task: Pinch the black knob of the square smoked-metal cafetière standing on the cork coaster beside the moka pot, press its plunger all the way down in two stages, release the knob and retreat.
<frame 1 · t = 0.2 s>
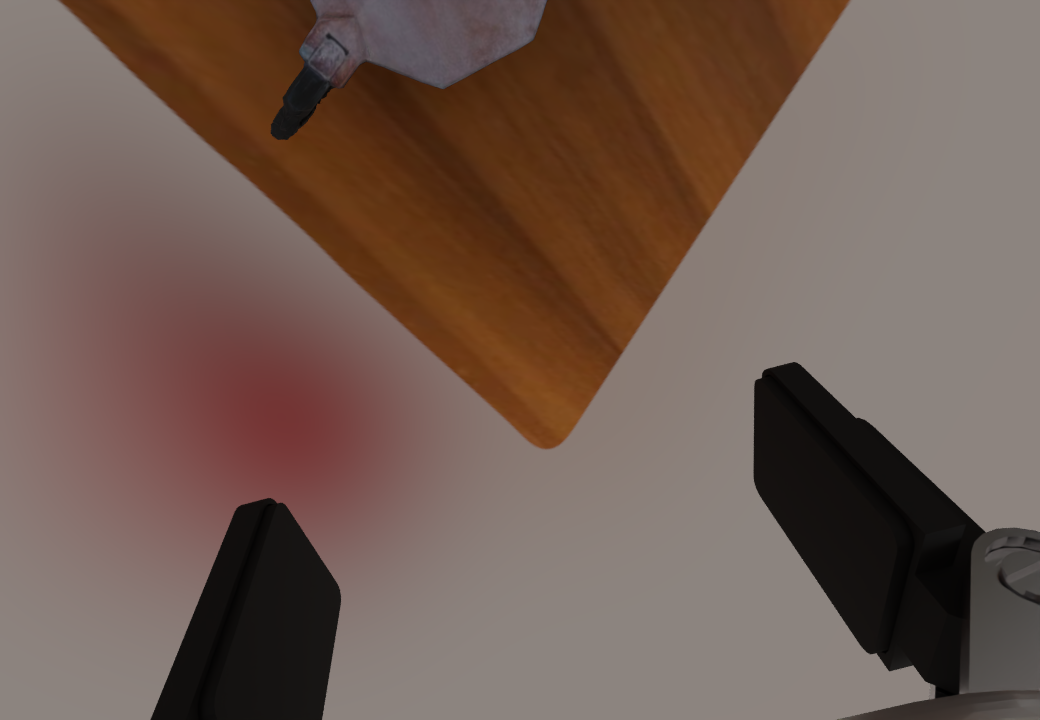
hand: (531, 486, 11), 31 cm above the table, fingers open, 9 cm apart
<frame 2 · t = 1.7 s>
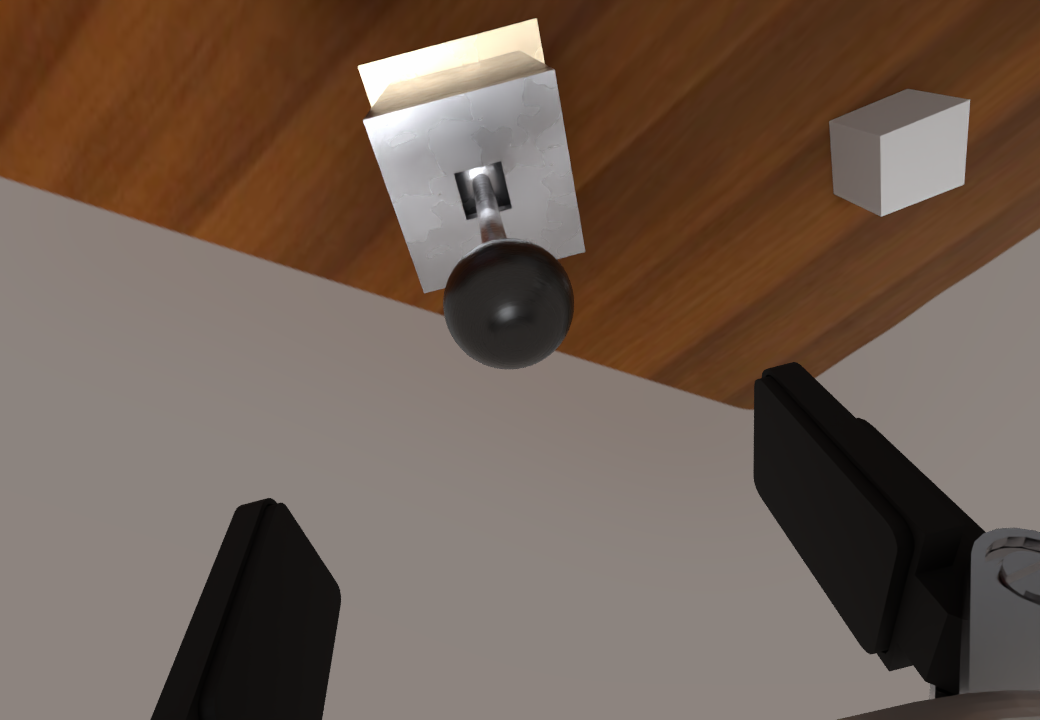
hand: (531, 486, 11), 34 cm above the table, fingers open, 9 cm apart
plunger: (493, 234, 23), point 21 cm above the table, slide at 0.0 cm
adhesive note: (866, 142, 44), on the table
cafetiere: (470, 135, 40), on the table
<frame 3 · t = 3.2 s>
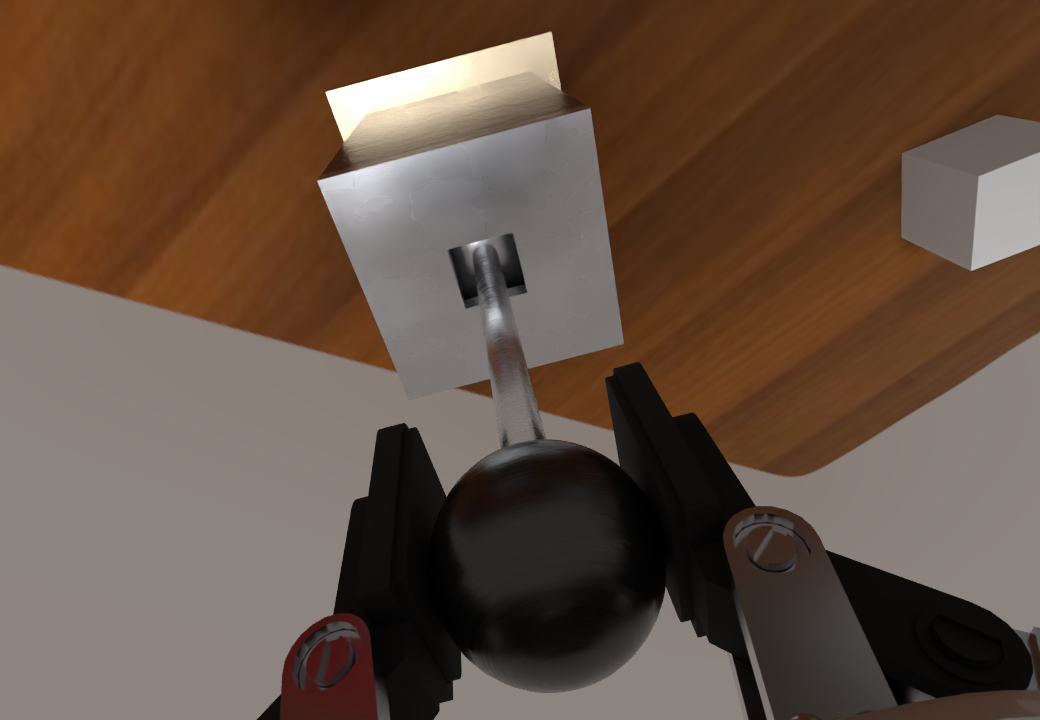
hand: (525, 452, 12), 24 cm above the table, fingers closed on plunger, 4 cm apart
plunger: (506, 362, 15), point 21 cm above the table, slide at 0.0 cm, touching gripper
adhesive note: (943, 178, 37), on the table
cafetiere: (468, 175, 32), on the table
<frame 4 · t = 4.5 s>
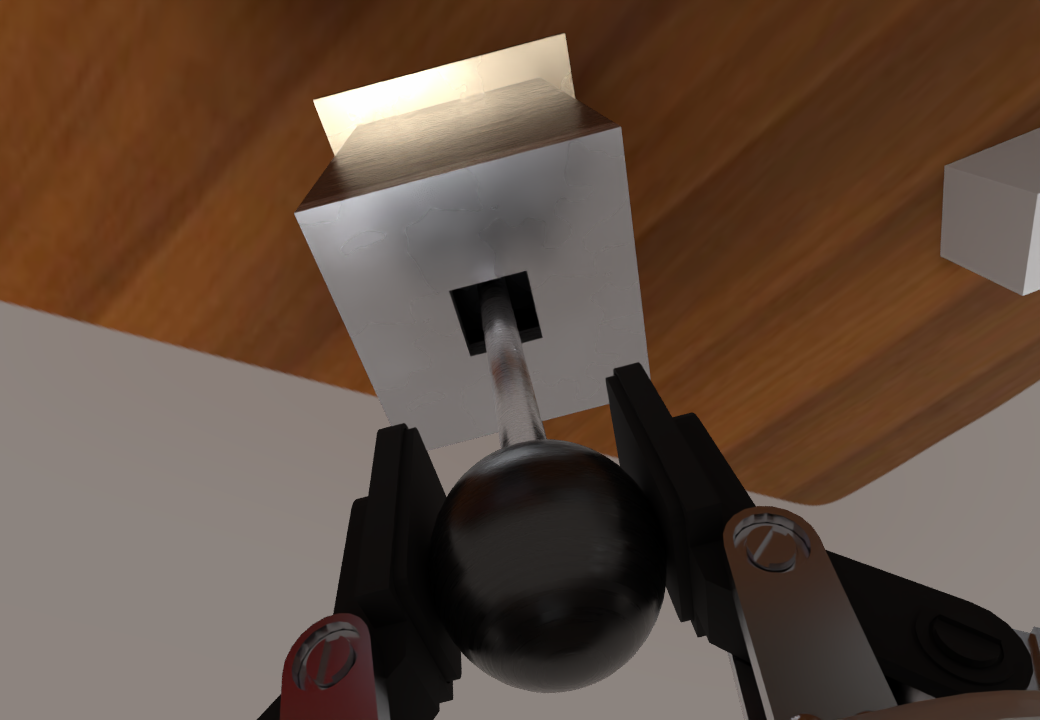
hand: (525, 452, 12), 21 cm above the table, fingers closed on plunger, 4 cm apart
plunger: (507, 362, 15), point 17 cm above the table, slide at 3.5 cm, touching gripper
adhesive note: (988, 192, 34), on the table
cafetiere: (472, 190, 29), on the table
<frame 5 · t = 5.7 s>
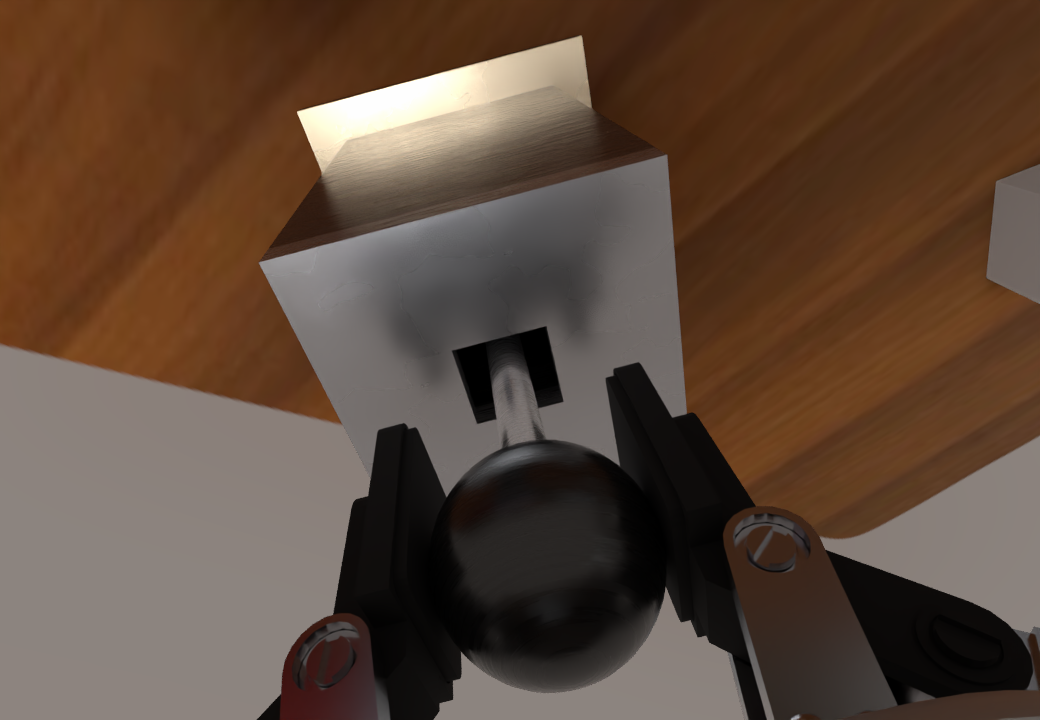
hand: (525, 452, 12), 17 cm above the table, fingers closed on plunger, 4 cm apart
plunger: (507, 362, 15), point 14 cm above the table, slide at 7.0 cm, touching gripper
cafetiere: (476, 210, 26), on the table
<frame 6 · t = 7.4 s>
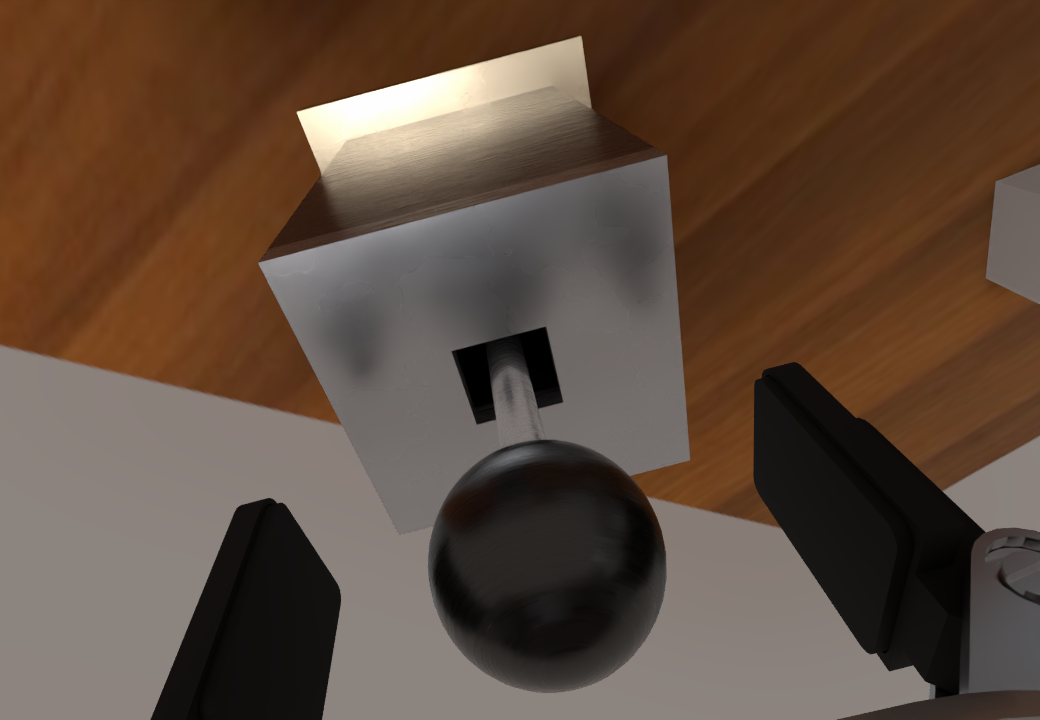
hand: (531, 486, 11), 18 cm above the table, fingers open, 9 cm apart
plunger: (506, 362, 15), point 14 cm above the table, slide at 7.0 cm
cafetiere: (476, 211, 26), on the table
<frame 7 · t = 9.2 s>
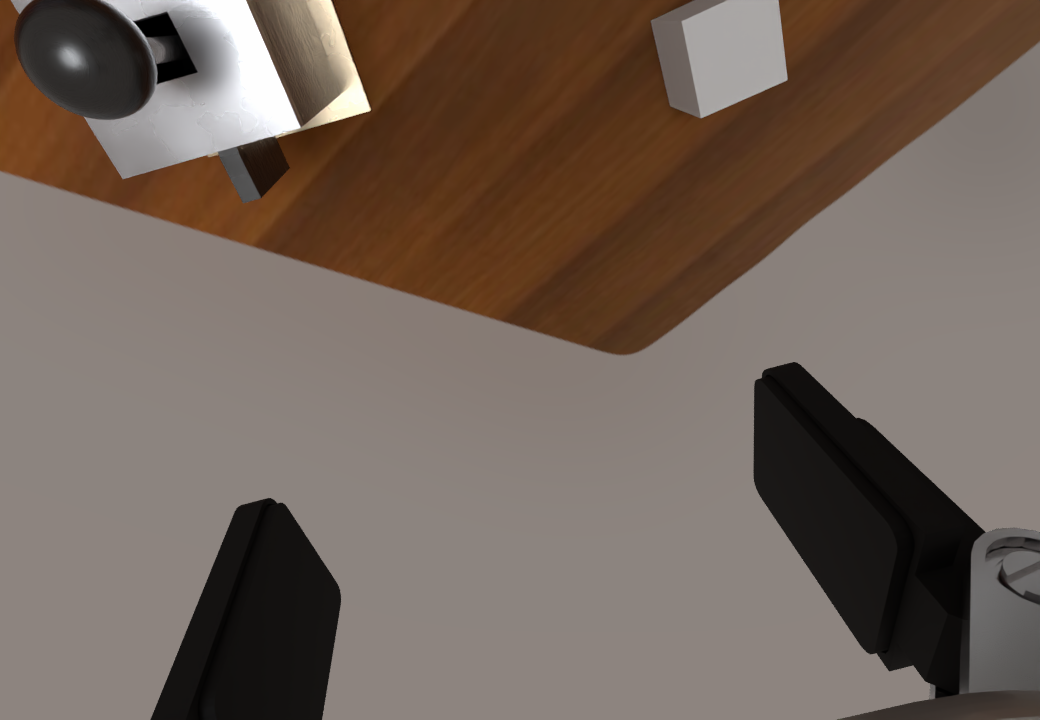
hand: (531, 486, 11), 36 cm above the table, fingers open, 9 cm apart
plunger: (164, 49, 25), point 14 cm above the table, slide at 7.0 cm
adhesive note: (698, 47, 41), on the table
cafetiere: (249, 38, 37), on the table
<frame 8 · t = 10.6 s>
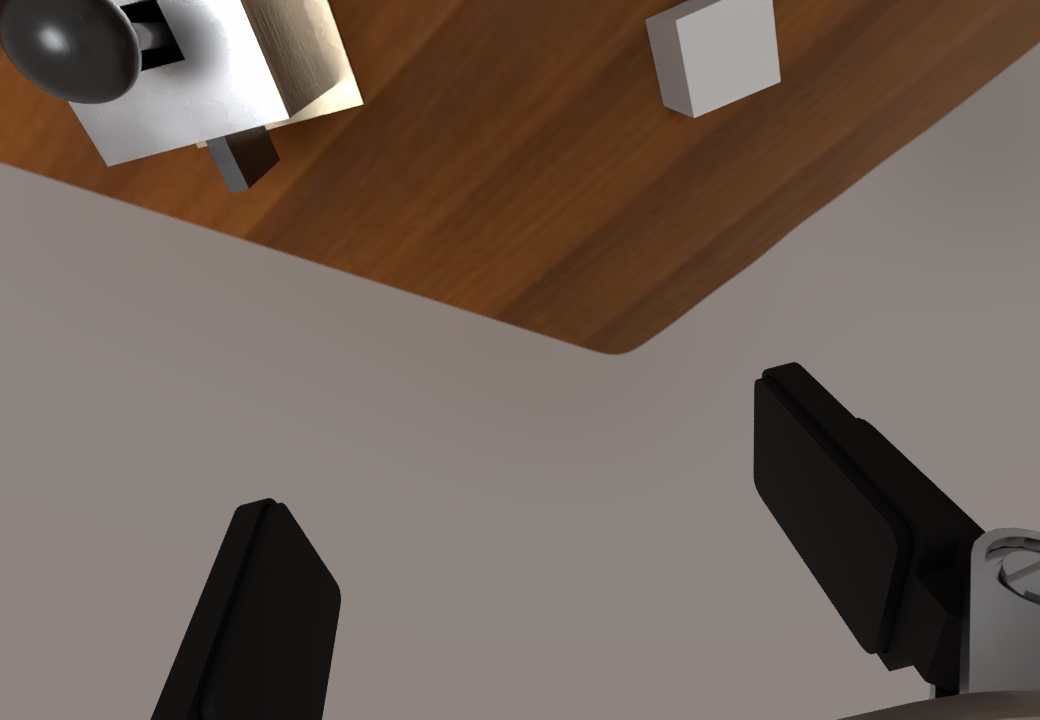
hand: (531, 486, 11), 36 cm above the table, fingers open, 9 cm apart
plunger: (151, 35, 25), point 14 cm above the table, slide at 7.0 cm
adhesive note: (692, 47, 41), on the table
cafetiere: (241, 29, 36), on the table
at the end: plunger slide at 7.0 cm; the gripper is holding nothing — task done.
